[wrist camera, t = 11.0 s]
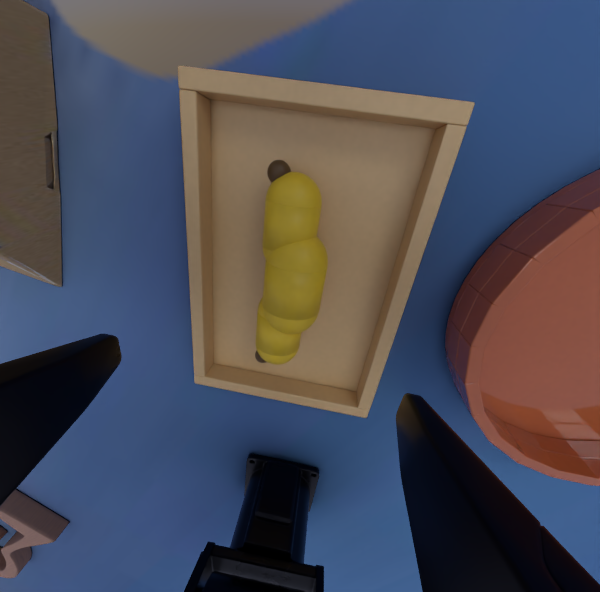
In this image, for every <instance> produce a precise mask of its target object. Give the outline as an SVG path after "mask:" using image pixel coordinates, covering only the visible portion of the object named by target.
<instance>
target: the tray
mask: <svg viewBox="0 0 600 592" xmlns="http://www.w3.org/2000/svg"><path fill="white" fill-rule="evenodd" d="M178 83H179V88H180V90H179V97H180V116H181V135H182V154H183V173H184V192H185V211H186V229H187V248H188V267H189V286H190V305H191V324H192V343H193V362H194V374H195V375H194V381H195V383H196V384H201V385H206V386H210V387H215V388H220V389H225V390H230V391H235V392H240V393H245V394H250V395H255V396H260V397H265V398H269V399H274V400H279V401H284V402H289V403H294V404H299V405H304V406H309V407H314V408H319V409H323V410H328V411H333V412H338V413H343V414H348V415H353V416H358V417H363V418H367V416H368V413H369V410H370V407H371V405H372V402H373V399H374V396H375V393H376V390H377V387H378V384H379V381H380V378H381V375H382V373H383V370H384V367H385V364H386V361H387V358H388V355H389V352H390V349H391V346H392V343H393V341H394V338H395V335H396V332H397V329H398V326H399V323H400V320H401V317H402V314H403V311H404V309H405V306H406V303H407V300H408V297H409V294H410V291H411V288H412V285H413V282H414V279H415V277H416V274H417V271H418V268H419V265H420V262H421V259H422V256H423V253H424V250H425V247H426V245H427V242H428V239H429V236H430V233H431V230H432V227H433V224H434V221H435V218H436V215H437V212H438V210H439V207H440V204H441V201H442V198H443V195H444V192H445V189H446V186H447V183H448V180H449V178H450V175H451V172H452V169H453V166H454V163H455V160H456V157H457V154H458V151H459V148H460V146H461V143H462V140H463V137H464V134H465V131H466V128H467V127H466V126H467V125H468V122H469V119H470V116H471V113H472V110H473V107H474V104H475V103H474V102H468V101H460V100H452V99H444V98H436V97H428V96H420V95H412V94H404V93H396V92H388V91H380V90H372V89H364V88H356V87H348V86H340V85H332V84H324V83H316V82H308V81H300V80H292V79H284V78H276V77H268V76H261V75H253V74H245V73H237V72H229V71H221V70H213V69H205V68H197V67H188V66H180V65H179V66H178ZM275 160H283V161H285V162H286V163H287V164H288V165H289V167H290V169H291V172H299V173H303V174H305V175H307V176H309V177H310V178H311V179H312V180H313V181H314V182H315V183H316V184H317V186H318V188H319V190H320V193H321V199H322V206H321V213H320V219H319V225H318V232H317V237H318V238H319V239H320V241H321V242H322V243H323V245H324V246H325V249H326V252H327V256H328V267H327V272H326V277H325V283H324V288H323V294H322V299H321V304H320V310H319V313H318V316H317V319H316V320H315V322H314V323H313V324H312V325H311V326H310V328H308V329H307V330H305V331H303V332H301V339H300V345H299V349H298V352H297V353H296V355H295V356H294V357H293V358H292V359H291V360H290V361H288V362H286V363H284V364H279V365H276V364H270V363H268V362H266V363H260V362H258V361H257V360H256V358H255V353H256V351H257V349H256V328H257V314H258V306H259V303H260V300H261V299H262V297H263V289H264V277H265V264H266V259H265V257H264V254H263V245H262V243H263V229H264V215H265V201H266V194H267V191H268V188H269V186H270V185H271V183H272V182H271V181H270V180H269V178H268V175H267V170H268V166H269V165H270V163H271V162H273V161H275Z"/></svg>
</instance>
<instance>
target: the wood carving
mask: <svg viewBox="0 0 600 592" xmlns="http://www.w3.org/2000/svg"><path fill="white" fill-rule="evenodd" d="M0 519H2V520H3V521H4V522H6V523H7V524H8V525H10V526H11V527H12V528H14V529H15V530H17V532H16V533H15V535H14V536H13V537H12V538H11V539H10V540H9V541H8V542H7V543H6V545H5V546H4V547H3V548H2V547H0V577H4V578H14V577H16V576H17V575H18V574H19V572H20V571H21V570H22V569H23V567H24V566H25V565H26V564H27V562H28V561H29V560H30V559H31V555H32V552H31V547H30V546H36V545H42V544H47V543H51V542H54V541H55V540H56V539H57V538H58V537H59V535H60V534H61V533H62V531H63V530H64V529H65V528H66V526H67V525H68V524H69V521H67V520H65V519H64V518H62V517H60V516H59V515H57V514H55V513H54V512H52V511H51V510H49V509H47V508H46V507H44V506H42V505H41V504H39V503H37V502H36V501H34V500H32V499H31V498H29V497H27V496H26V495H24V494H23V493H21V492H19V491H18V490H16V489H15V490H14V491H13V492H12V494H11V495H10V496H9V497H8V498H7V499H6V500H5V502H4V503H3V504H2V505H1V506H0ZM6 533H7V531H6V530H5V529H4V528H2V527H1V526H0V540H1V538H2V537H3V536H4V535H5V534H6Z"/></svg>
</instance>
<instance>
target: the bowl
mask: <svg viewBox="0 0 600 592" xmlns="http://www.w3.org/2000/svg"><path fill="white" fill-rule="evenodd" d="M445 351H446V358H447V364H448V367H449V370H450V373H451V376H452V378H453V381H454V384H455V386H456V388H457V390H458V392H459V394H460V395H461V397H462V399H463V401H464V403H465V404H466V406H467V408H468V410H469V412H470V414H471V415H472V417H473V418H474V420H475V421H476V423H477V424H478V426H479V427H480V429H481V430H482V432H483V433H484V435H485V436H486V438H487V439H488V440H489V441H490V442H491V443H492V444H493V445H495V446H496V447H497V448H499V449H500V450H501V451H503V452H504V453H505V454H507V455H508V456H509V457H511V458H512V459H513V460H514V461H516V462H517V463H519V464H522V465H524V466H526V467H529V468H531V469H533V470H536V471H538V472H541V473H543V474H545V475H548V476H550V477H554V478H558V479H563V480H568V481H573V482H577V483H582V484H587V485H592V486H593V485H594V486H600V169H599V170H597V171H595V172H593V173H591V174H589V175H587V176H585V177H583V178H581V179H579V180H577V181H575V182H573V183H571V184H569V185H567V186H565V187H564V188H562V189H561V190H559V191H557V192H556V193H554V194H553V195H551V196H550V197H548V198H546V199H545V200H543V201H542V202H540V203H539V204H537V205H536V206H535V207H533V208H532V209H531V210H529V211H528V212H527V213H526V214H524V215H523V216H522V217H520V218H519V219H518V220H517V221H515V222H514V223H513V224H512V225H511V226H510V227H509V228H508V229H507V230H506V231H505V232H503V233H502V234H501V235H500V236H499V237H498V238H497V239H496V240H495V241H494V242H493V243H492V244H491V246H490V247H489V248H488V249H487V250H486V251H485V253H484V254H483V255H482V256H481V257H480V258H479V260H478V261H477V262H476V264H475V265H474V267H473V268H472V270H471V271H470V273H469V274H468V275H467V277H466V278H465V280H464V282H463V284H462V286H461V288H460V290H459V292H458V294H457V296H456V298H455V300H454V303H453V306H452V309H451V312H450V314H449V318H448V324H447V329H446V339H445Z"/></svg>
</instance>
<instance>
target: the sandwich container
mask: <svg viewBox="0 0 600 592" xmlns="http://www.w3.org/2000/svg"><path fill="white" fill-rule="evenodd" d="M57 130H58V128H57V116H56V103H55V91H54V79H53V66H52V54H51V42H50V29H49V18H48V15H47V14H46V13H44V12H42V11H41V10H39V9H37V8H35V7H33V6H32V5H30V4H28V3H26V2H24V1H23V0H0V266H2V267H4V268H7V269H10V270H13V271H16V272H18V273H21V274H24V275H27V276H30V277H32V278H35V279H38V280H41V281H44V282H47V283H49V284H52V285H55V286H59V287H62V260H61V203H60V191H59V175H58V153H57Z"/></svg>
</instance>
